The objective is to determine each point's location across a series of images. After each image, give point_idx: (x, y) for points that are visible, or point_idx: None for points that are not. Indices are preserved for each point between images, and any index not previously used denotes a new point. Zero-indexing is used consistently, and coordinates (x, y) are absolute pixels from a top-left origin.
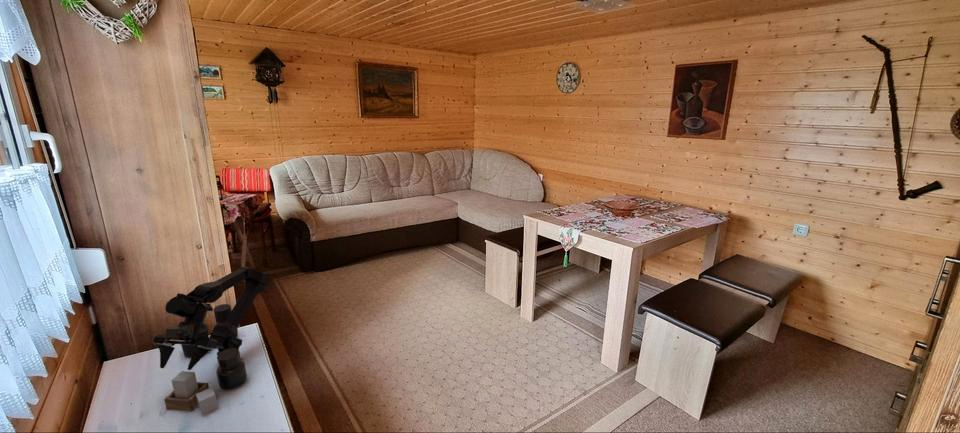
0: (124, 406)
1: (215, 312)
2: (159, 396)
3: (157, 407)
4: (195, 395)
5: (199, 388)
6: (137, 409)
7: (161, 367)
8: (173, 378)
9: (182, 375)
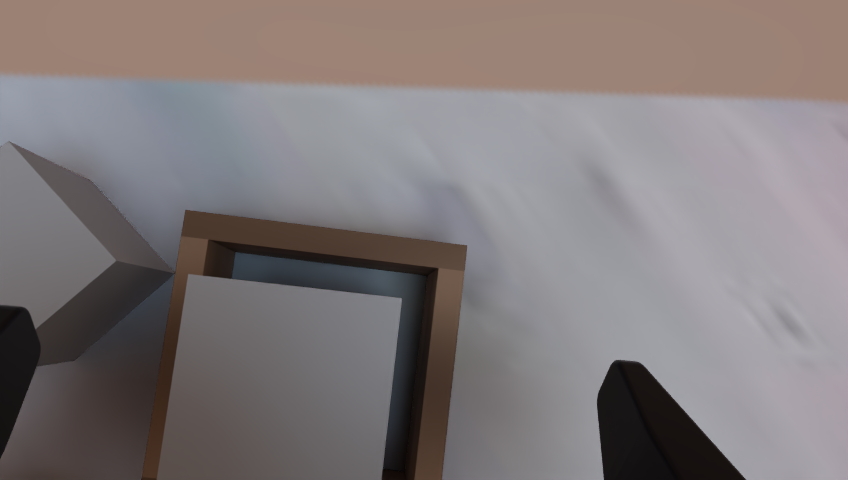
0: (817, 288)
1: None
2: None
3: (540, 275)
4: (171, 302)
5: None
6: (687, 253)
7: (616, 367)
8: (394, 335)
9: (302, 407)
